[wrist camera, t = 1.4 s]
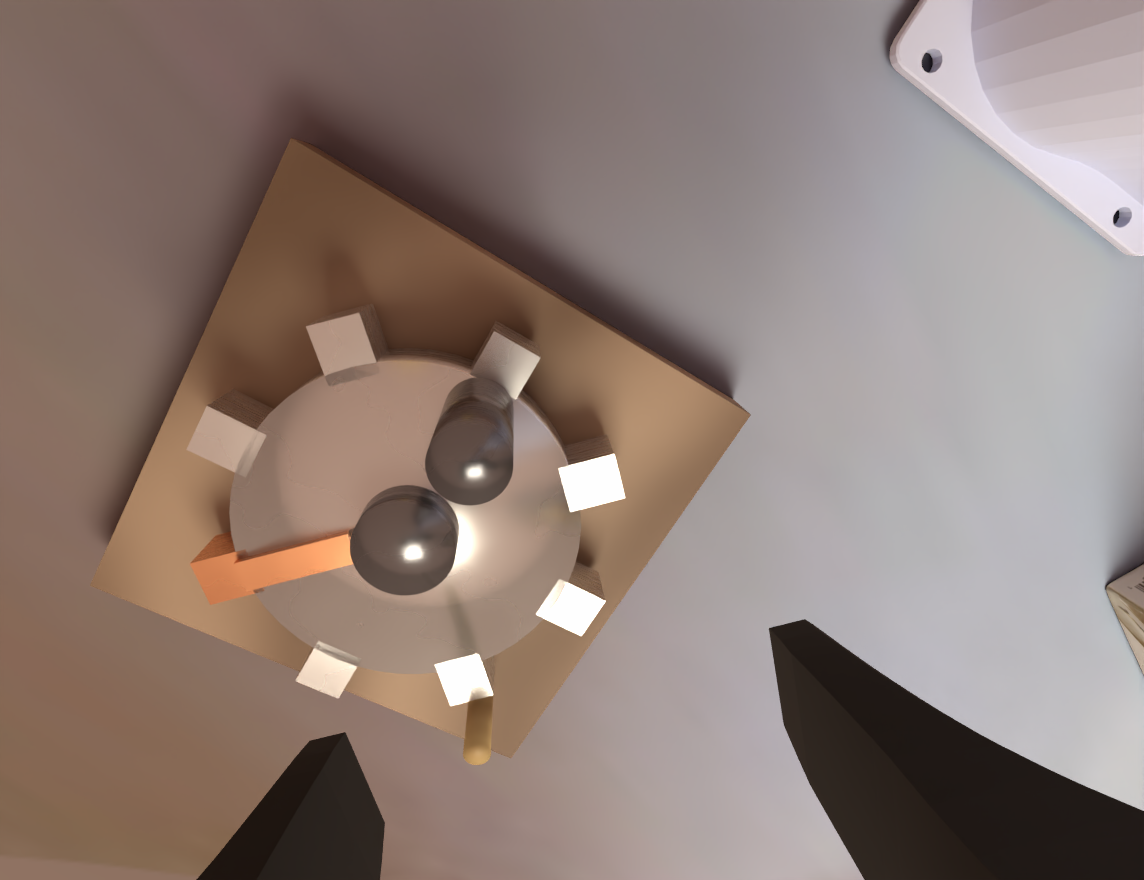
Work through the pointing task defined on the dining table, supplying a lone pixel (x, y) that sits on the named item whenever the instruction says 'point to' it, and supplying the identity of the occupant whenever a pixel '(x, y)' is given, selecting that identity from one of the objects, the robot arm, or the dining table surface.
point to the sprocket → (405, 508)
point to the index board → (423, 321)
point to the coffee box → (1130, 608)
